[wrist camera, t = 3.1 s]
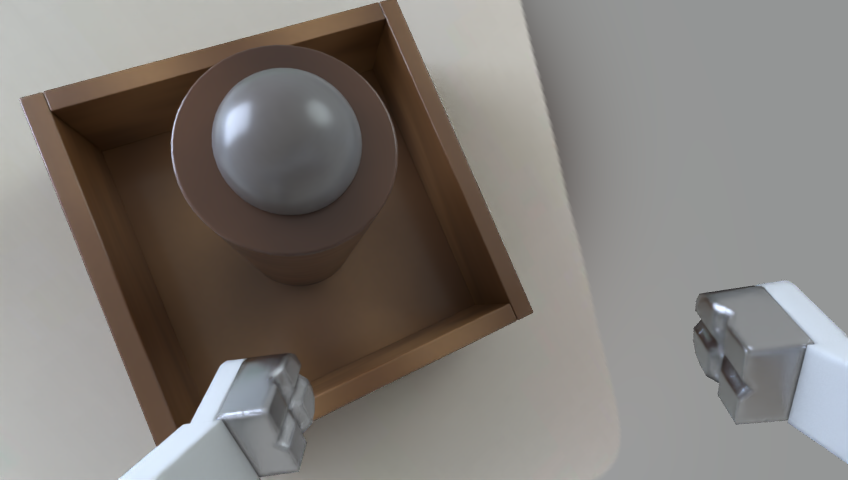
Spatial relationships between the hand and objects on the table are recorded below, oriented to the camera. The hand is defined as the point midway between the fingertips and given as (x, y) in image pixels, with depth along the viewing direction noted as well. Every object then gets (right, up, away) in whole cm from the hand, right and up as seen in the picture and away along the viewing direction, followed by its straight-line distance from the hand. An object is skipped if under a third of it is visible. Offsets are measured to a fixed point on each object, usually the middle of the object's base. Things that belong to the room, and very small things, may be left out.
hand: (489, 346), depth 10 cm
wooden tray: (-7, +2, +14) cm, 16 cm away
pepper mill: (-7, +3, +13) cm, 15 cm away
